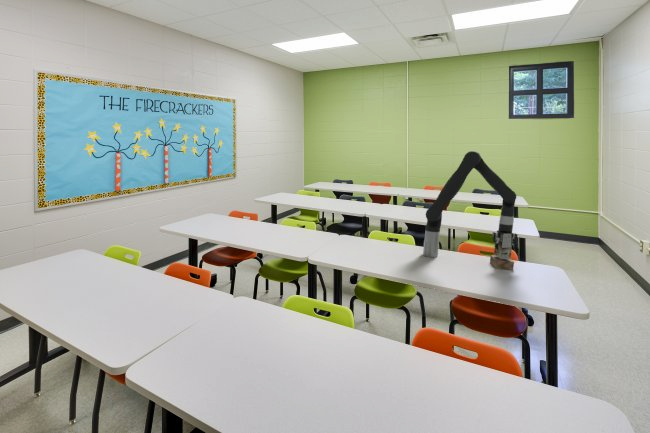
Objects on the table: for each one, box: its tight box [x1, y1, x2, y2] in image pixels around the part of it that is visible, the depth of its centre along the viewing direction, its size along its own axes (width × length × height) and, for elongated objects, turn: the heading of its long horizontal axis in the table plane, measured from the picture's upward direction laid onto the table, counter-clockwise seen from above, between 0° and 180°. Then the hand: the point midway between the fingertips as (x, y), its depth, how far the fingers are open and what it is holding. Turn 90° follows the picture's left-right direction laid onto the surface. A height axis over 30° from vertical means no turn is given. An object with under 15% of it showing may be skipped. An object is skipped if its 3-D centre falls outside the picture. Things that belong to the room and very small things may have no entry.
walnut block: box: [489, 254, 515, 271], centre depth 217 cm, size 10×12×5 cm
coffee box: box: [493, 230, 514, 259], centre depth 215 cm, size 9×6×16 cm
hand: (502, 249), depth 216 cm, fingers closed on coffee box, 7 cm apart
